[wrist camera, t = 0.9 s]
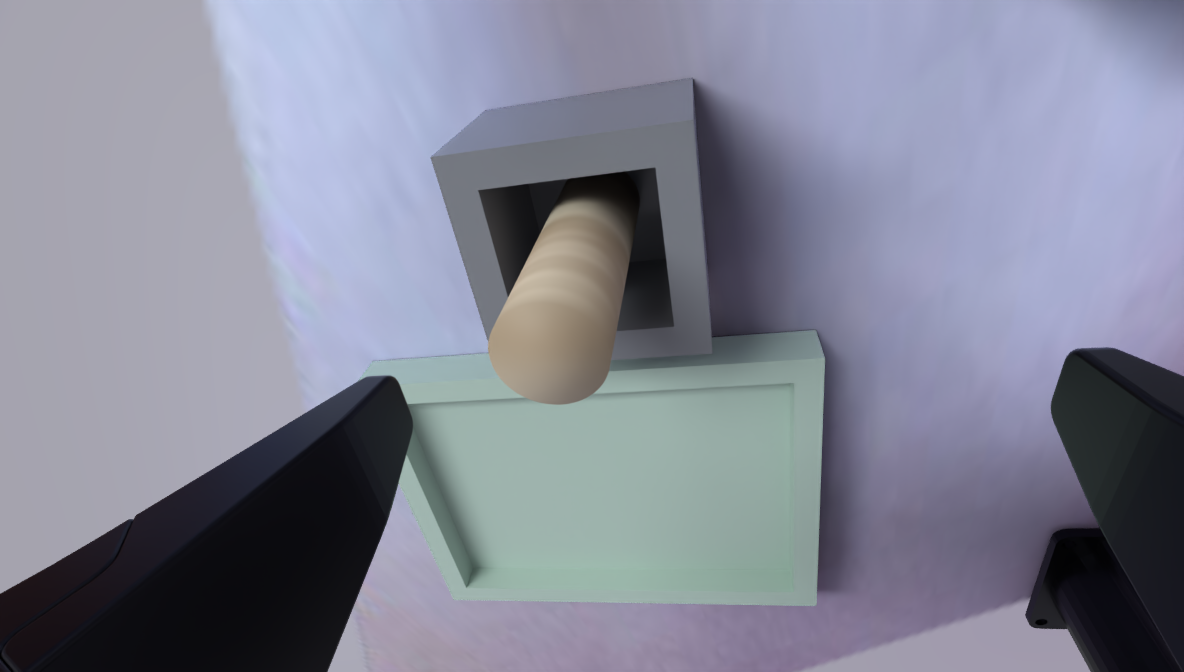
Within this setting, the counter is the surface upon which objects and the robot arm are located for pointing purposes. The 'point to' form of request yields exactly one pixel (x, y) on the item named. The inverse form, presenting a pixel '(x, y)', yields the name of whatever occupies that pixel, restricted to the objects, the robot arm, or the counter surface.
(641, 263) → the grey square sleeve
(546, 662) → the counter surface
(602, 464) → the tray
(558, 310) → the dowel pin
